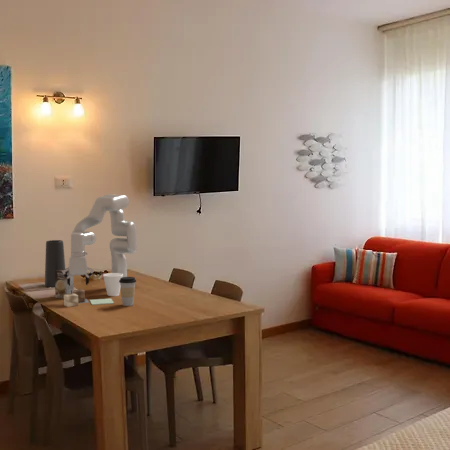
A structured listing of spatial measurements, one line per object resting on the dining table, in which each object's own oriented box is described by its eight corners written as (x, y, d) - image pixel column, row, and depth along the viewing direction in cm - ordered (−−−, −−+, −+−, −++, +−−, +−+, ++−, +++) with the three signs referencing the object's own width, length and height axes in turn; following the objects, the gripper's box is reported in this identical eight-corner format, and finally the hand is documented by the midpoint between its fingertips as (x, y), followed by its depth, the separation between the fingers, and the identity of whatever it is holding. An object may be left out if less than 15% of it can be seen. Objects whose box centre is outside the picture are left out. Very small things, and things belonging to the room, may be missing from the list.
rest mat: (111, 299, 349) (111, 298, 349) (114, 303, 337) (114, 302, 337) (89, 300, 345) (89, 299, 345) (92, 305, 334) (92, 304, 334)
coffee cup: (122, 307, 329) (122, 280, 327) (117, 304, 337) (116, 277, 336) (139, 305, 333) (138, 278, 332) (133, 302, 341) (133, 276, 340)
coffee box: (54, 297, 353) (54, 270, 352) (62, 295, 359) (61, 269, 357) (67, 299, 349) (66, 271, 348) (74, 297, 355) (73, 270, 354)
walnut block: (83, 299, 347) (83, 289, 346) (84, 301, 341) (84, 291, 341) (73, 300, 345) (72, 290, 344) (73, 302, 339) (73, 292, 339)
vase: (71, 284, 393) (70, 240, 390) (54, 288, 382) (53, 242, 379) (56, 282, 400) (55, 239, 398) (40, 286, 389) (38, 241, 386)
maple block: (74, 304, 337) (74, 293, 337) (78, 306, 332) (78, 295, 332) (63, 305, 334) (63, 294, 333) (67, 307, 329) (67, 296, 328)
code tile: (87, 299, 349) (87, 298, 349) (88, 302, 340) (88, 302, 340) (69, 300, 346) (69, 300, 346) (70, 304, 337) (70, 303, 337)
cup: (99, 296, 358) (98, 275, 357) (111, 292, 369) (110, 272, 368) (115, 297, 353) (115, 276, 352) (127, 294, 364) (127, 273, 363)
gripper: (92, 253, 347) (92, 283, 348) (61, 254, 341) (61, 284, 342) (94, 255, 340) (94, 285, 341) (62, 256, 334) (62, 286, 335)
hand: (78, 284), depth 342 cm, fingers open, 9 cm apart
